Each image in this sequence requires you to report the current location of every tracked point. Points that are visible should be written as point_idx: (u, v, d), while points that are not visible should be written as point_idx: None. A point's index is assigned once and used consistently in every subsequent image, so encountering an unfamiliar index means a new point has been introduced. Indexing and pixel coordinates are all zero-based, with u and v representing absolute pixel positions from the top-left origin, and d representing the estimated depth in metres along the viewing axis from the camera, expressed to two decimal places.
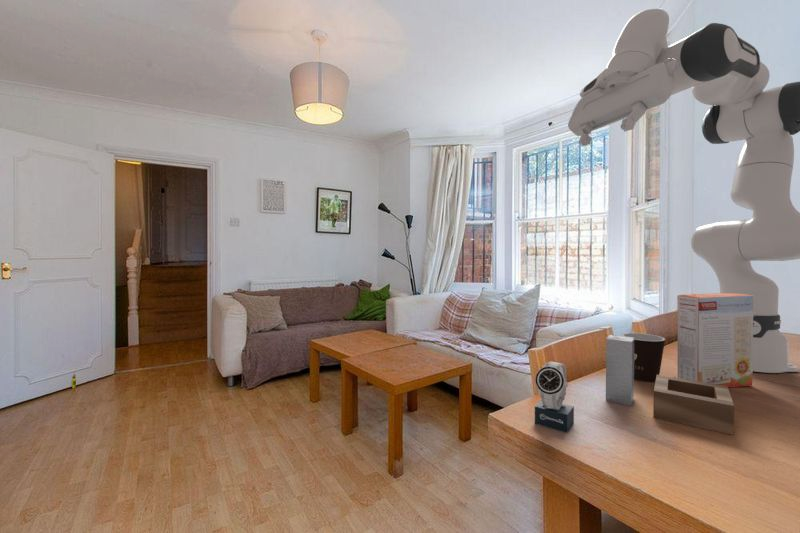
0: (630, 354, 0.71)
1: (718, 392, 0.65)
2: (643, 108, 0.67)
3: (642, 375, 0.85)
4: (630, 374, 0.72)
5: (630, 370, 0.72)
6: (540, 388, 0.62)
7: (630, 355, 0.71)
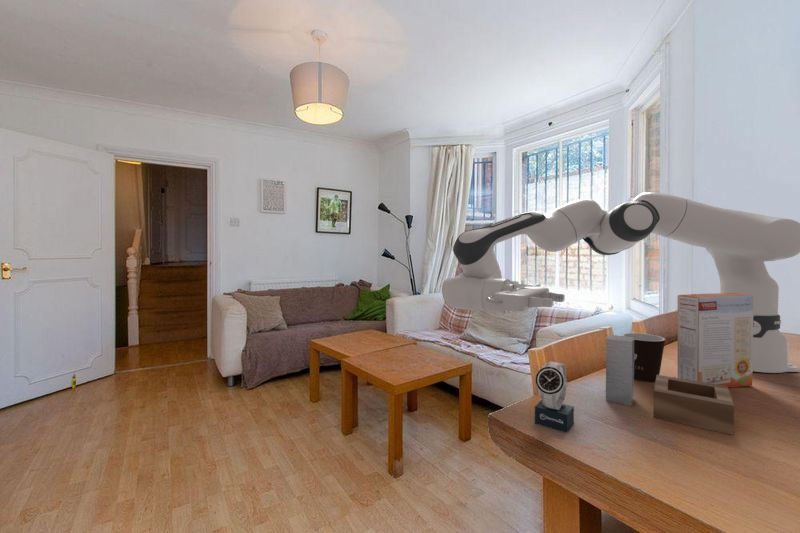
0: (630, 354, 0.71)
1: (718, 392, 0.65)
2: (532, 301, 0.79)
3: (642, 375, 0.85)
4: (630, 374, 0.72)
5: (630, 370, 0.72)
6: (540, 388, 0.62)
7: (630, 355, 0.71)
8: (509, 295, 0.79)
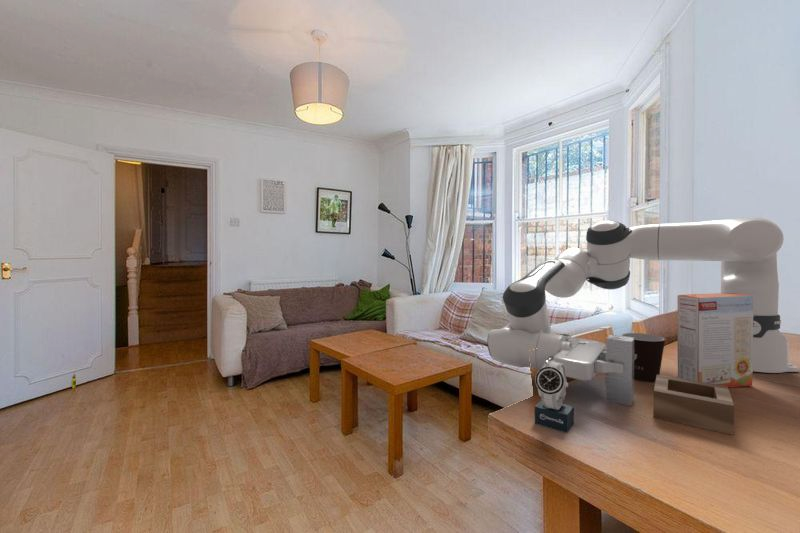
0: (630, 354, 0.71)
1: (718, 392, 0.65)
2: (600, 365, 0.73)
3: (642, 375, 0.85)
4: (630, 374, 0.72)
5: (630, 370, 0.72)
6: (540, 388, 0.62)
7: (630, 355, 0.71)
8: (573, 362, 0.71)
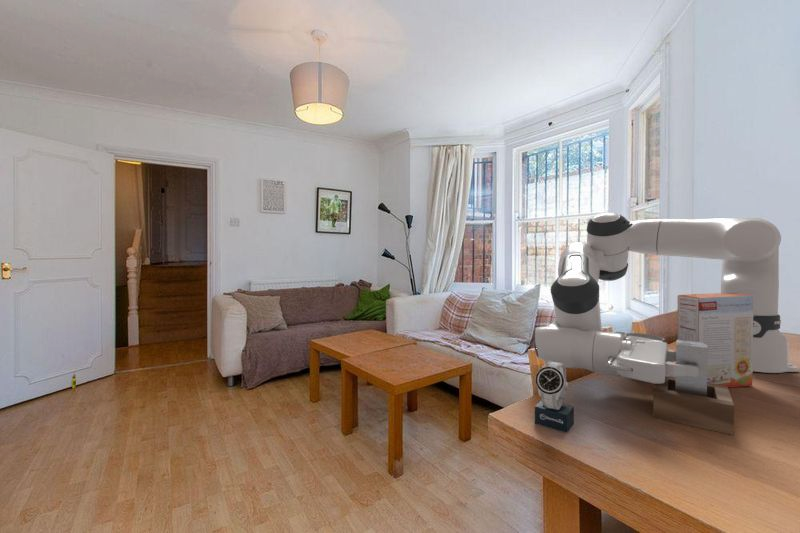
0: (705, 362, 0.64)
1: (718, 392, 0.65)
2: (670, 368, 0.65)
3: None
4: (705, 384, 0.65)
5: (705, 379, 0.64)
6: (540, 388, 0.62)
7: (705, 363, 0.64)
8: (643, 363, 0.64)
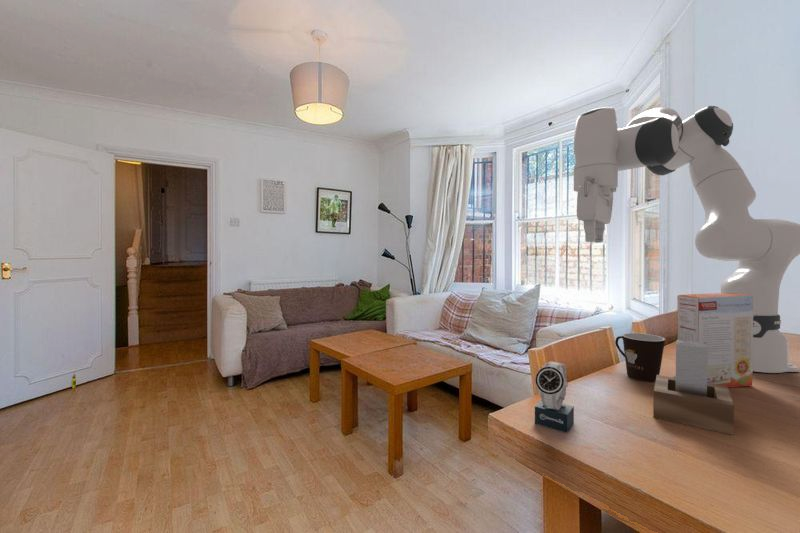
0: (705, 362, 0.64)
1: (718, 392, 0.65)
2: (590, 223, 0.77)
3: (642, 375, 0.85)
4: (705, 384, 0.65)
5: (705, 379, 0.64)
6: (540, 388, 0.62)
7: (705, 363, 0.64)
8: (594, 203, 0.73)
